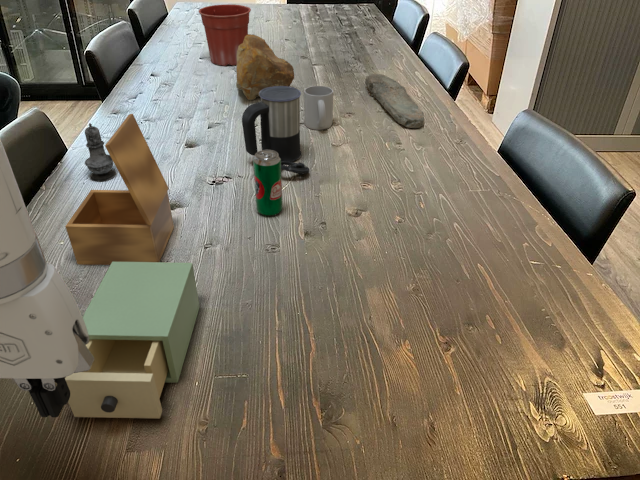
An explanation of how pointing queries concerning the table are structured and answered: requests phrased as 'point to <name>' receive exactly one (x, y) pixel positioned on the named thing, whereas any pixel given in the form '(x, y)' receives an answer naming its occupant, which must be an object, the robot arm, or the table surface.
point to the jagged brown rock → (260, 67)
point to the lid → (137, 168)
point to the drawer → (120, 380)
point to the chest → (117, 230)
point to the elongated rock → (395, 100)
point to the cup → (318, 107)
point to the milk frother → (276, 126)
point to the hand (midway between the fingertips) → (56, 405)
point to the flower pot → (225, 31)
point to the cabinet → (147, 307)
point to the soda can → (268, 182)
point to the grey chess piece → (98, 156)
